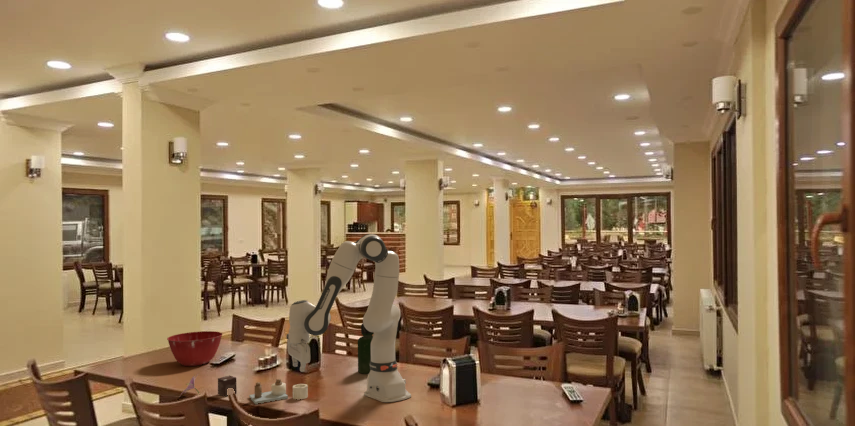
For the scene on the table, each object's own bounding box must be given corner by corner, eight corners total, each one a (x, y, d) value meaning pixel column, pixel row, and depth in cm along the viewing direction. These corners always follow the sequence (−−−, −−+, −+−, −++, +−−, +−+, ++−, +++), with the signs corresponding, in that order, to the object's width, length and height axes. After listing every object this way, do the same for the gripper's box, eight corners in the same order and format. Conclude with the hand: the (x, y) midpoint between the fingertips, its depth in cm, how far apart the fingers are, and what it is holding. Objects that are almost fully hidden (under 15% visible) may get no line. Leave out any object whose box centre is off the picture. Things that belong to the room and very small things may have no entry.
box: (229, 391, 251) (229, 375, 251) (237, 393, 247) (236, 377, 247) (217, 394, 246) (217, 378, 246) (224, 397, 242) (224, 380, 242)
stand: (289, 398, 239) (289, 381, 239) (255, 404, 231) (255, 387, 231) (281, 391, 248) (281, 375, 248) (249, 397, 240) (249, 380, 241)
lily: (197, 391, 254) (186, 374, 253) (214, 384, 250) (203, 367, 248) (179, 407, 243) (168, 390, 242) (197, 400, 239) (185, 382, 237)
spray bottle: (379, 368, 285) (379, 321, 285) (376, 374, 275) (375, 324, 275) (360, 368, 286) (359, 321, 286) (355, 374, 276) (355, 324, 276)
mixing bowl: (167, 360, 310) (167, 333, 311) (220, 354, 322) (220, 328, 323) (166, 372, 285) (166, 343, 285) (224, 365, 297) (224, 337, 297)
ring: (309, 397, 239) (309, 386, 239) (295, 400, 236) (295, 388, 236) (304, 394, 244) (304, 383, 244) (291, 396, 241) (291, 385, 241)
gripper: (314, 341, 233) (313, 373, 233) (298, 332, 250) (298, 362, 250) (299, 342, 230) (299, 375, 229) (285, 334, 247) (284, 364, 247)
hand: (298, 368), depth 240 cm, fingers open, 8 cm apart
